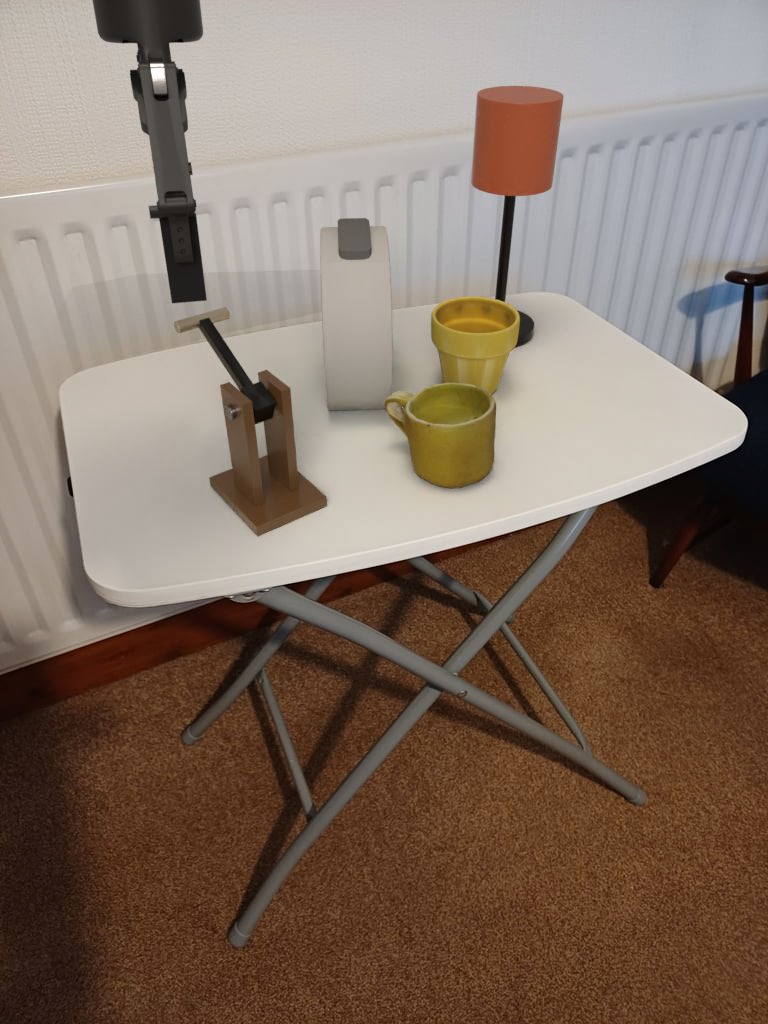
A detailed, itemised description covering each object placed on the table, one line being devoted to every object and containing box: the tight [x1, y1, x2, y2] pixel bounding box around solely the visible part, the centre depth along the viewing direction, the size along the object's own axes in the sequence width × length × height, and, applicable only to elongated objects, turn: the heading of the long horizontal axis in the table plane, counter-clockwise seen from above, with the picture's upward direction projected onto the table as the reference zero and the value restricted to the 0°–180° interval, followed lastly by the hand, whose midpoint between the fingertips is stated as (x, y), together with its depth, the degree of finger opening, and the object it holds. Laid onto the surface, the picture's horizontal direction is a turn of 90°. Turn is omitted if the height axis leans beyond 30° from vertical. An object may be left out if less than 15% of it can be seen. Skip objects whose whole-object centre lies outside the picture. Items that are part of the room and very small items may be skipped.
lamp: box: [470, 85, 564, 348], centre depth 101 cm, size 10×10×30 cm
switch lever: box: [173, 306, 276, 425], centre depth 75 cm, size 13×6×2 cm, turn 35°
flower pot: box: [430, 296, 520, 395], centre depth 95 cm, size 10×10×10 cm
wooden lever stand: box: [208, 369, 328, 537], centre depth 76 cm, size 10×8×13 cm
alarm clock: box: [319, 217, 394, 411], centre depth 93 cm, size 21×8×20 cm, turn 3°
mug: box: [384, 382, 497, 489], centre depth 83 cm, size 12×10×10 cm
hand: (185, 275), depth 68 cm, fingers open, 13 cm apart
